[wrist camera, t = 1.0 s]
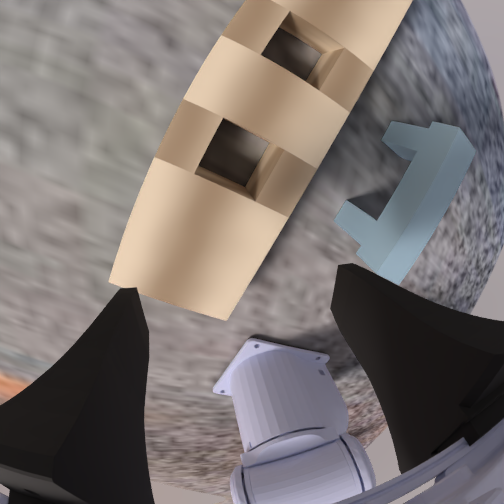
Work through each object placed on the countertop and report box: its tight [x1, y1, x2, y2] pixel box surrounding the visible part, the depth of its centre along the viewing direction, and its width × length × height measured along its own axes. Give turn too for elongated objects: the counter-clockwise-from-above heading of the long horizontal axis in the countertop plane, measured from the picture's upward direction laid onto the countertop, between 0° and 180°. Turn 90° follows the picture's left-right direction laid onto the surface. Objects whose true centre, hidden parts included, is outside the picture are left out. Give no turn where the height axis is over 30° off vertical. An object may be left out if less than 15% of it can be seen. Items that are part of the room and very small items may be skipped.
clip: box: [334, 121, 476, 285], centre depth 17 cm, size 2×10×6 cm, turn 151°
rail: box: [109, 0, 412, 321], centre depth 15 cm, size 8×26×3 cm, turn 151°
